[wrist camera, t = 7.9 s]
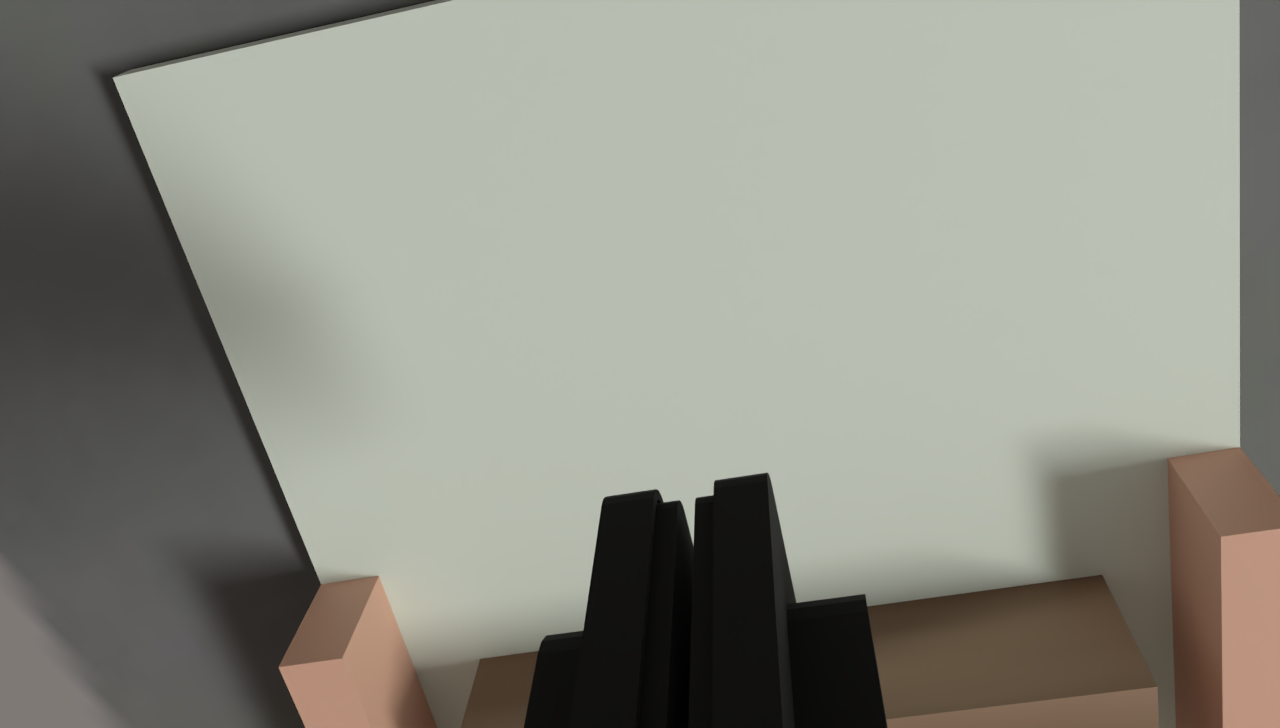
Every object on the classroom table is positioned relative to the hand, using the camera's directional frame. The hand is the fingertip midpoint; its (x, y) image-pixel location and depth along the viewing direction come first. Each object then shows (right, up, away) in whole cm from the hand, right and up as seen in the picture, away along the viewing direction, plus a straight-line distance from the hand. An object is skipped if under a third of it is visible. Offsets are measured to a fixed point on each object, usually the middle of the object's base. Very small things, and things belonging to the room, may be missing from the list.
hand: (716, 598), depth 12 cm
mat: (+2, -4, +12) cm, 12 cm away
